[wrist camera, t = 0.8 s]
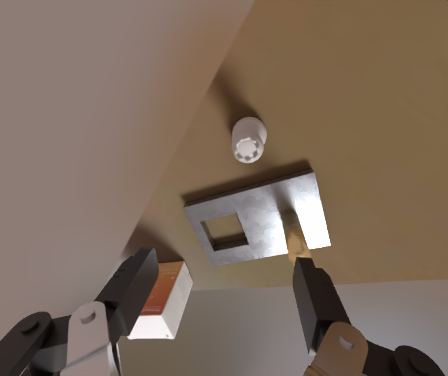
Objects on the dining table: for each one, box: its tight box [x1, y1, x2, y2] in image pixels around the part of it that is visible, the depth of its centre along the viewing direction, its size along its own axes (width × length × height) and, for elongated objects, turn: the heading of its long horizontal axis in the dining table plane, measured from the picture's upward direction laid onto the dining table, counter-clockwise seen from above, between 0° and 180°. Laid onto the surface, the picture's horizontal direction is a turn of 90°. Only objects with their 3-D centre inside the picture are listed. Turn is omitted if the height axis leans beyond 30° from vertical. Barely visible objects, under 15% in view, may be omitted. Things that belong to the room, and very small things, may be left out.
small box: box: [127, 261, 193, 339], centre depth 36 cm, size 8×6×10 cm
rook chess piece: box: [231, 117, 267, 163], centre depth 24 cm, size 4×4×8 cm
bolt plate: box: [184, 168, 330, 267], centre depth 29 cm, size 19×12×10 cm, turn 110°
